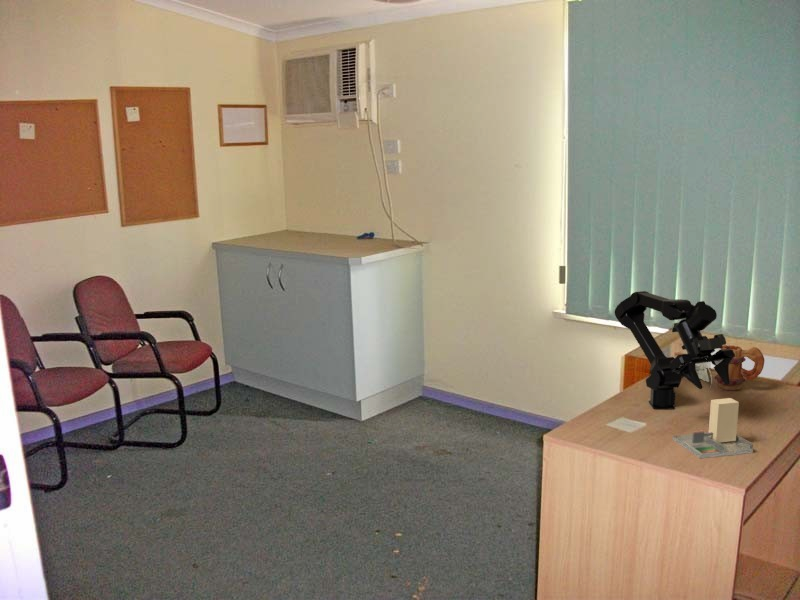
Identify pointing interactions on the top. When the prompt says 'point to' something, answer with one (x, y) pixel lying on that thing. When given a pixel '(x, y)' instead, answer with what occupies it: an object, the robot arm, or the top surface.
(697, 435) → the drag pointer
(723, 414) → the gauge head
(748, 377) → the mug
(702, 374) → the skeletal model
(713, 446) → the gauge frame
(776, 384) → the top surface
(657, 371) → the robot arm
